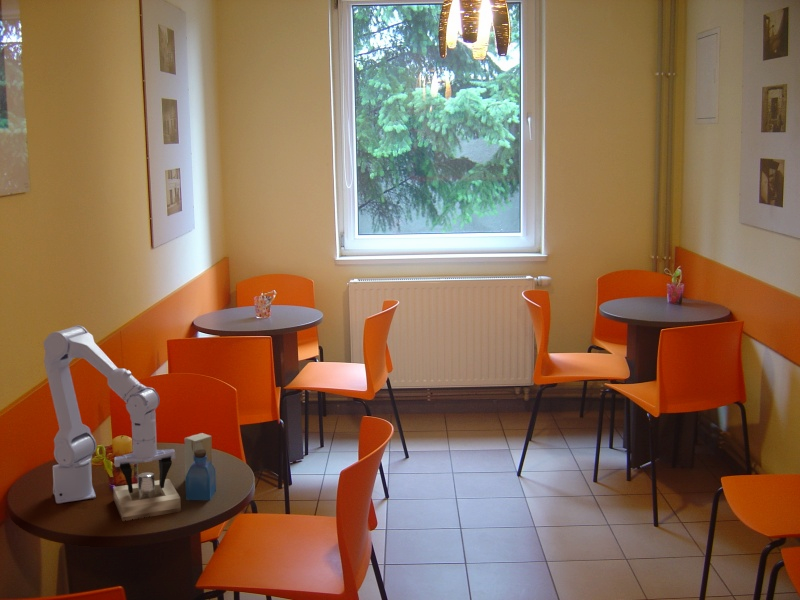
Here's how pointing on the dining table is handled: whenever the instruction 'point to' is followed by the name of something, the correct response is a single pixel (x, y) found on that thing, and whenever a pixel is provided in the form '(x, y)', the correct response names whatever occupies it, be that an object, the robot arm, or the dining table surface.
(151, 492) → the metal pin
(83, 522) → the dining table surface
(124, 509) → the socket block
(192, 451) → the skincare box
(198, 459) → the perfume bottle
